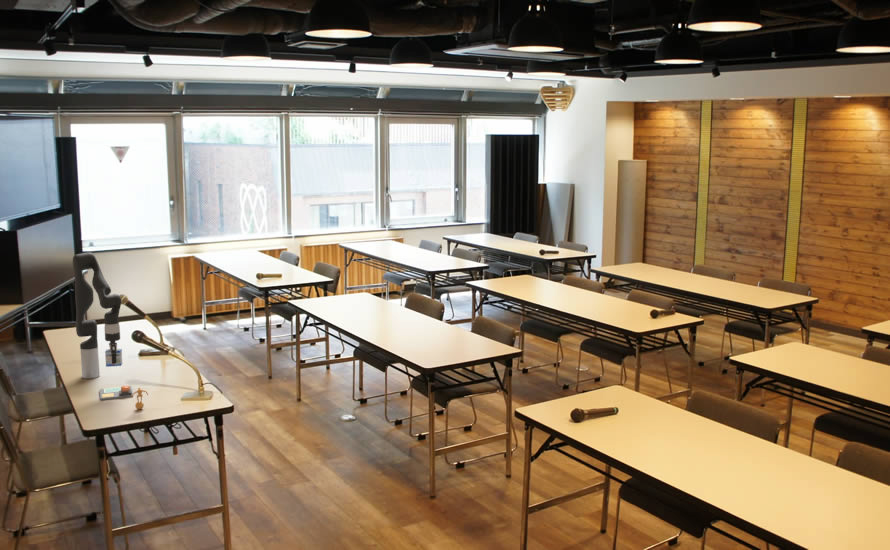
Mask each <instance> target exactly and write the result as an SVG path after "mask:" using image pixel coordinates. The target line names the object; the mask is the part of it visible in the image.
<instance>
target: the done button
mask: <svg viewBox="0 0 890 550" xmlns="http://www.w3.org/2000/svg"><path fill="white" fill-rule="evenodd" d="M130 386H131V385H123V386H120V387H121V391H123V392H126V391H129V390H130Z"/></svg>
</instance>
